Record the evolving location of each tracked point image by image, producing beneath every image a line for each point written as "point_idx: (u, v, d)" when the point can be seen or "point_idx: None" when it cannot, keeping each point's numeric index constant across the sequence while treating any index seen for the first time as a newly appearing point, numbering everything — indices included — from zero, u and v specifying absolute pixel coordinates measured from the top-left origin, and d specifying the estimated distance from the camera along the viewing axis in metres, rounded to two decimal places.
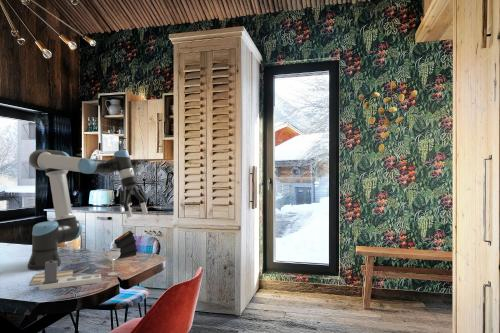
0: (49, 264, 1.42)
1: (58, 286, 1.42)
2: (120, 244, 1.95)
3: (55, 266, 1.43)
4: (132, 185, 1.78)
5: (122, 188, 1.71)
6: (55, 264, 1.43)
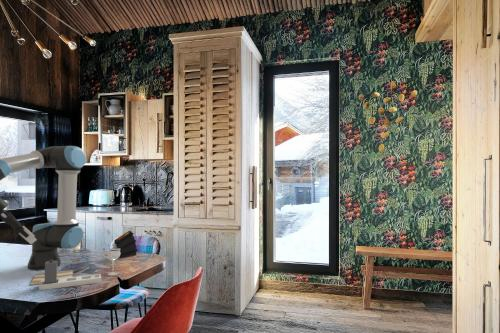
0: (49, 264, 1.42)
1: (58, 286, 1.42)
2: (120, 244, 1.95)
3: (55, 266, 1.43)
4: None
5: None
6: (55, 264, 1.43)
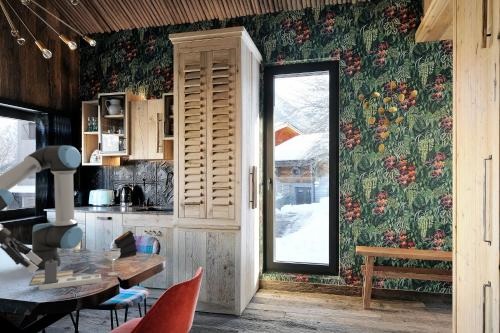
0: (49, 264, 1.42)
1: (58, 286, 1.42)
2: (120, 244, 1.95)
3: (55, 266, 1.43)
4: None
5: None
6: (55, 264, 1.43)
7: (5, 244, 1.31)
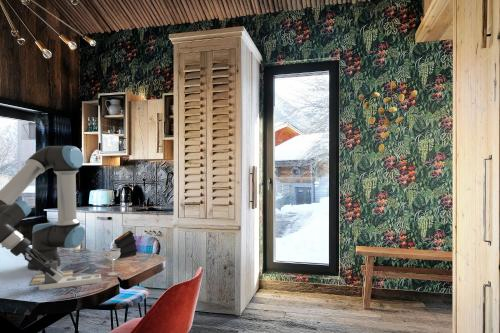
0: (49, 264, 1.42)
1: (58, 286, 1.42)
2: (120, 244, 1.95)
3: (55, 266, 1.43)
4: None
5: None
6: (55, 264, 1.43)
7: (30, 256, 1.36)
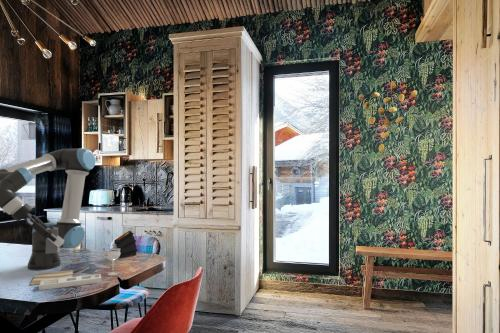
0: (50, 230, 1.45)
1: (58, 286, 1.42)
2: (120, 244, 1.95)
3: (55, 232, 1.46)
4: None
5: None
6: (56, 230, 1.46)
7: (32, 221, 1.38)
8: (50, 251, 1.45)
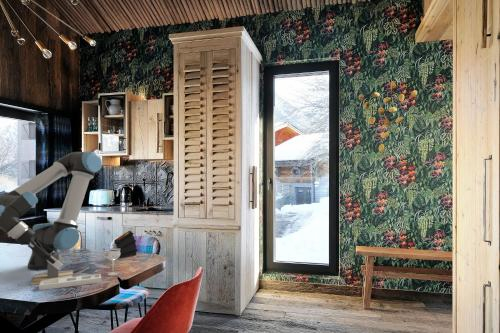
0: None
1: (58, 286, 1.42)
2: (120, 244, 1.95)
3: (57, 257, 1.55)
4: None
5: None
6: (57, 256, 1.55)
7: (32, 243, 1.47)
8: (51, 276, 1.54)
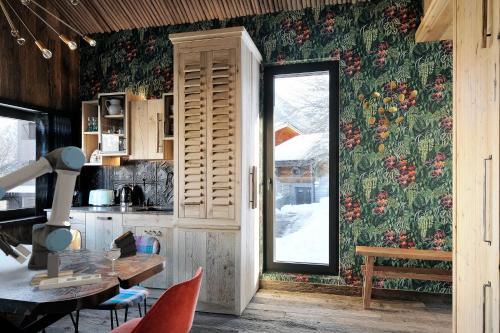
0: (51, 256, 1.54)
1: (58, 286, 1.42)
2: (120, 244, 1.95)
3: (57, 257, 1.55)
4: None
5: None
6: (57, 256, 1.55)
7: None
8: (51, 276, 1.54)
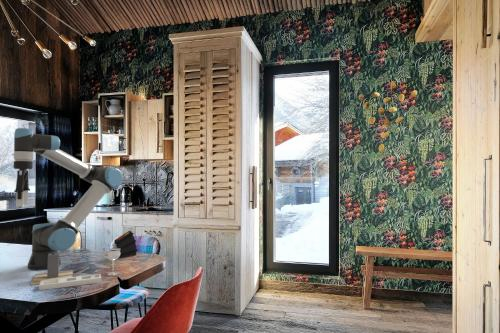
0: (51, 256, 1.54)
1: (58, 286, 1.42)
2: (120, 244, 1.95)
3: (57, 257, 1.55)
4: None
5: None
6: (57, 256, 1.55)
7: (22, 172, 1.51)
8: (51, 276, 1.54)
